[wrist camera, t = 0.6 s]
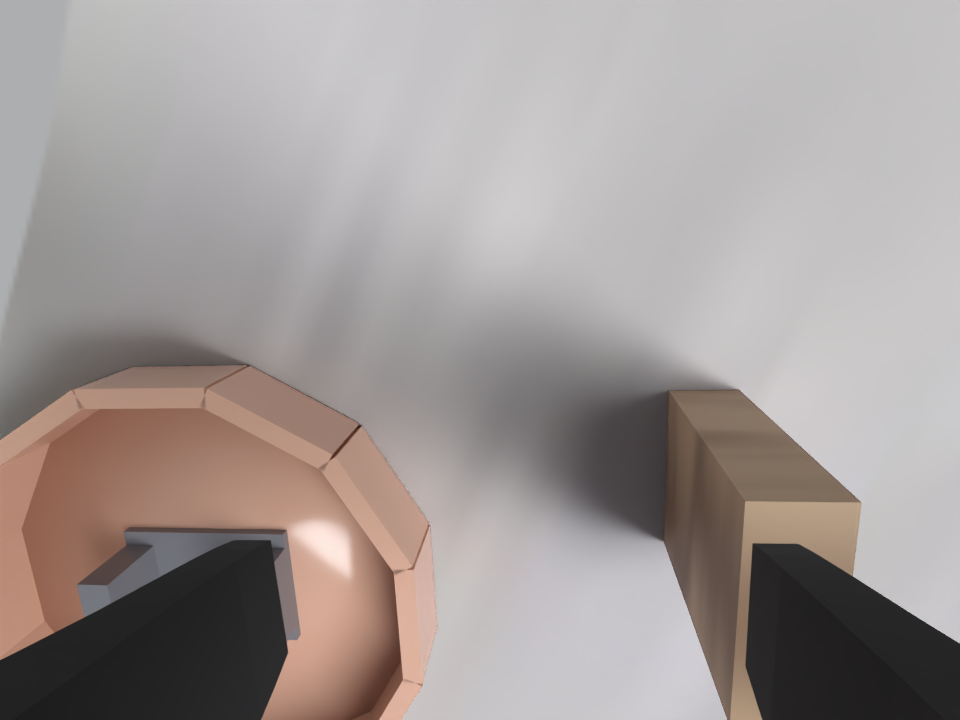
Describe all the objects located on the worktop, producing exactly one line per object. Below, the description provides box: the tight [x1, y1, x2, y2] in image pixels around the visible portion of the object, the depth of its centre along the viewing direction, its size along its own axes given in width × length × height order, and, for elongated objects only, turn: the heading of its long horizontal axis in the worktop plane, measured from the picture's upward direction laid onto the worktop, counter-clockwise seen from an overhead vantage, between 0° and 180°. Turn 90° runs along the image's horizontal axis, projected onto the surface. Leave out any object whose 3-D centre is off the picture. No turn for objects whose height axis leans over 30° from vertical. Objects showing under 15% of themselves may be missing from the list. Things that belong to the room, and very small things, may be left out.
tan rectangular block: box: [664, 390, 861, 720], centre depth 15 cm, size 5×2×7 cm, turn 2°
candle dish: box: [0, 365, 437, 720], centre depth 19 cm, size 15×15×3 cm
